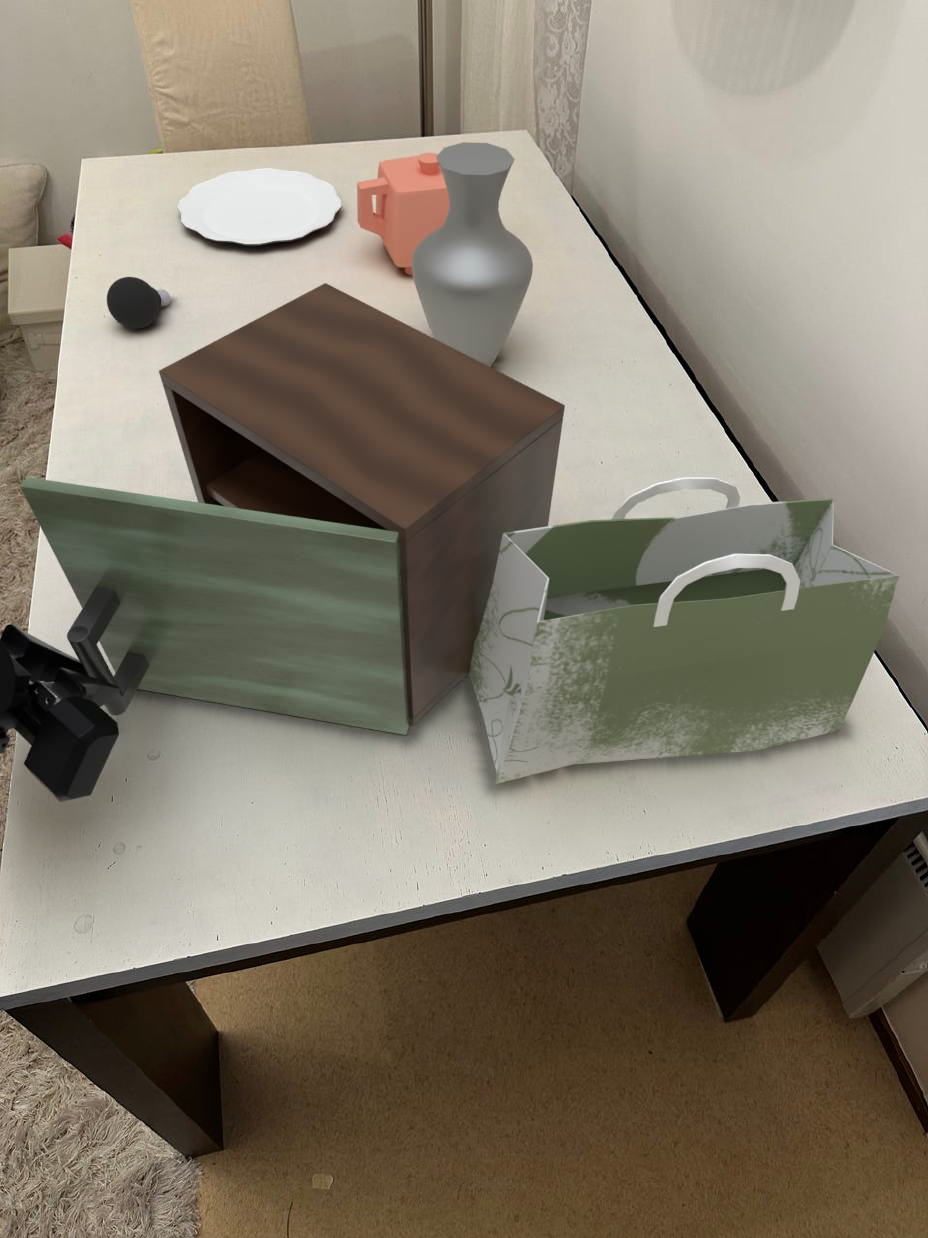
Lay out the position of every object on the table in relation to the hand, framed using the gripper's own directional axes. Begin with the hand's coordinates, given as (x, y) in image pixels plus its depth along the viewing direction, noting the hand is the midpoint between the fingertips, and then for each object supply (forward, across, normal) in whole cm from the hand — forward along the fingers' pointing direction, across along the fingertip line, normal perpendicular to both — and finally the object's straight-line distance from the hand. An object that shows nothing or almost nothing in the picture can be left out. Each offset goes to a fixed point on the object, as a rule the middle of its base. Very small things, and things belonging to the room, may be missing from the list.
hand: (106, 684), depth 67 cm
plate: (+58, -63, +44) cm, 96 cm away
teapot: (+63, -34, +50) cm, 88 cm away
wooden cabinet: (+24, +5, +12) cm, 27 cm away
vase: (+51, -13, +38) cm, 65 cm away
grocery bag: (+28, +32, +17) cm, 46 cm away
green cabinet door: (+10, +8, 0) cm, 13 cm away
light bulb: (+36, -52, +22) cm, 67 cm away
